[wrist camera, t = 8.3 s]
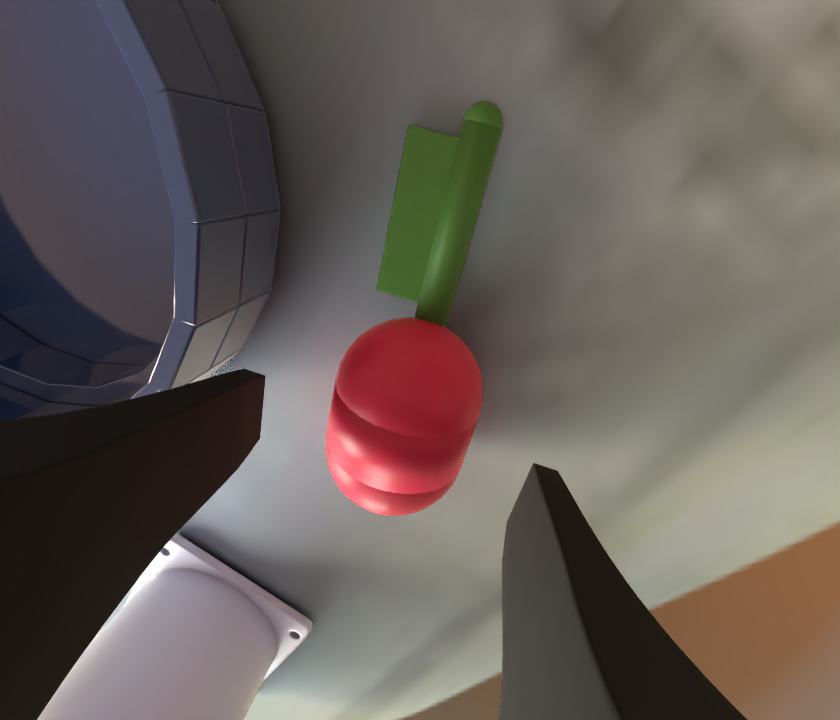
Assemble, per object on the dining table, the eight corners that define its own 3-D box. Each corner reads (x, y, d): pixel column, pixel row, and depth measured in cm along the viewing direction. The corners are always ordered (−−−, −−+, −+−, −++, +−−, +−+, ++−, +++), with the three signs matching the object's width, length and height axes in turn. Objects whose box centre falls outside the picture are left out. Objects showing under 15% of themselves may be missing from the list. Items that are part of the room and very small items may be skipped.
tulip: (452, 473, 15) (432, 568, 12) (345, 437, 15) (293, 518, 12) (572, 129, 10) (601, 107, 7) (413, 88, 11) (360, 48, 7)
